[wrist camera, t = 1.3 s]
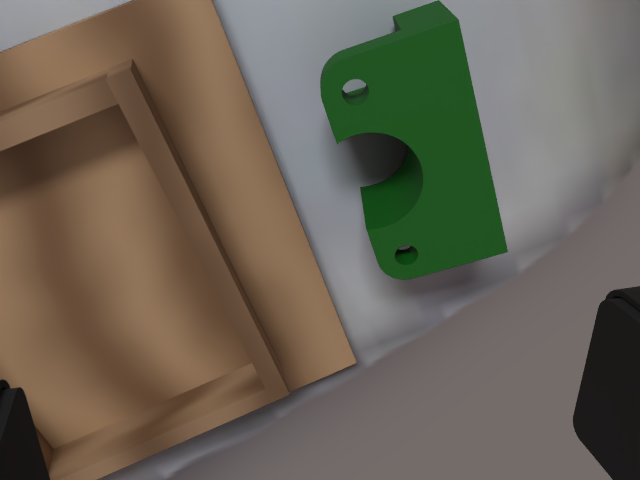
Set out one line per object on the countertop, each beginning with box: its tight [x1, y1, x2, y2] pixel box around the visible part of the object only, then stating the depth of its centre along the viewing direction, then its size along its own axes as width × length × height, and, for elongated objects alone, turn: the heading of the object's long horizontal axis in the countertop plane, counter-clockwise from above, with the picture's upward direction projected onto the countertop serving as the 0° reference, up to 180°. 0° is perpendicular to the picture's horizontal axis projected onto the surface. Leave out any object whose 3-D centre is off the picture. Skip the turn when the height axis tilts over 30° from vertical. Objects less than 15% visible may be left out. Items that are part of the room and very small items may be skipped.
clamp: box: [321, 0, 508, 279], centre depth 29 cm, size 12×6×9 cm, turn 13°
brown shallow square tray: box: [0, 0, 356, 480], centre depth 29 cm, size 22×22×4 cm
